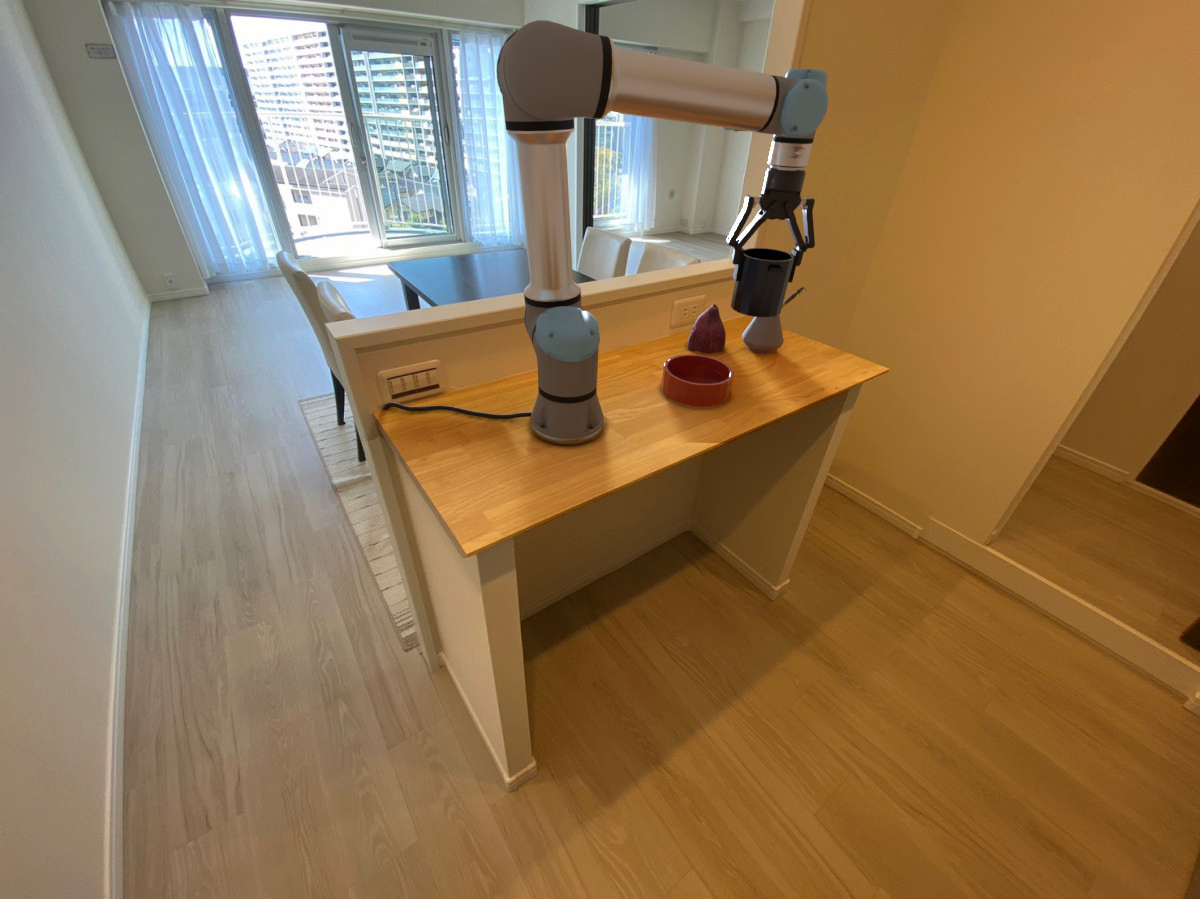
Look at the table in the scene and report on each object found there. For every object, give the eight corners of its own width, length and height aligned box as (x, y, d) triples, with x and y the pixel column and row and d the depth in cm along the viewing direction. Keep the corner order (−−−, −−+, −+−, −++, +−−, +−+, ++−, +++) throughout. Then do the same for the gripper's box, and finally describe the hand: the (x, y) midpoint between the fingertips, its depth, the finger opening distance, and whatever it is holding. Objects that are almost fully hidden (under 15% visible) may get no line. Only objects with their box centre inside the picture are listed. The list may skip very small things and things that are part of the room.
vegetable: (719, 366, 136) (737, 322, 125) (683, 357, 137) (698, 312, 125) (723, 343, 143) (740, 299, 131) (688, 335, 144) (702, 290, 132)
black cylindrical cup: (739, 319, 107) (751, 262, 100) (724, 297, 119) (734, 245, 112) (790, 320, 108) (805, 264, 101) (770, 298, 119) (782, 246, 112)
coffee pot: (765, 359, 134) (779, 305, 125) (731, 345, 141) (742, 293, 132) (807, 342, 145) (823, 291, 137) (774, 329, 152) (787, 280, 144)
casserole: (666, 408, 110) (669, 384, 107) (657, 375, 123) (660, 353, 120) (736, 409, 111) (741, 386, 108) (719, 377, 124) (724, 355, 121)
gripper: (732, 168, 93) (713, 283, 106) (853, 172, 94) (820, 286, 107) (723, 163, 99) (706, 273, 112) (837, 167, 100) (807, 276, 113)
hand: (762, 280), depth 110 cm, fingers closed on black cylindrical cup, 11 cm apart
